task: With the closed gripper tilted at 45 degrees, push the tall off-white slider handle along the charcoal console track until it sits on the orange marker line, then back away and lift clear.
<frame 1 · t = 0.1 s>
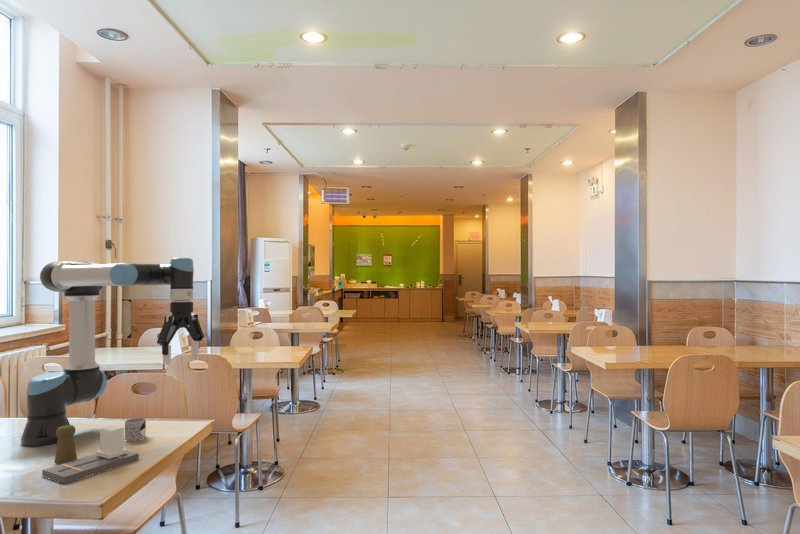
hand: (181, 361, 182), 28 cm above the table, tool pointing down, fingers open, 13 cm apart
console: (92, 467, 156), on the table
mug: (135, 437, 187), on the table
slider handle: (111, 441, 161), point 6 cm above the table, slide at -6.0 cm
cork: (65, 461, 163), on the table
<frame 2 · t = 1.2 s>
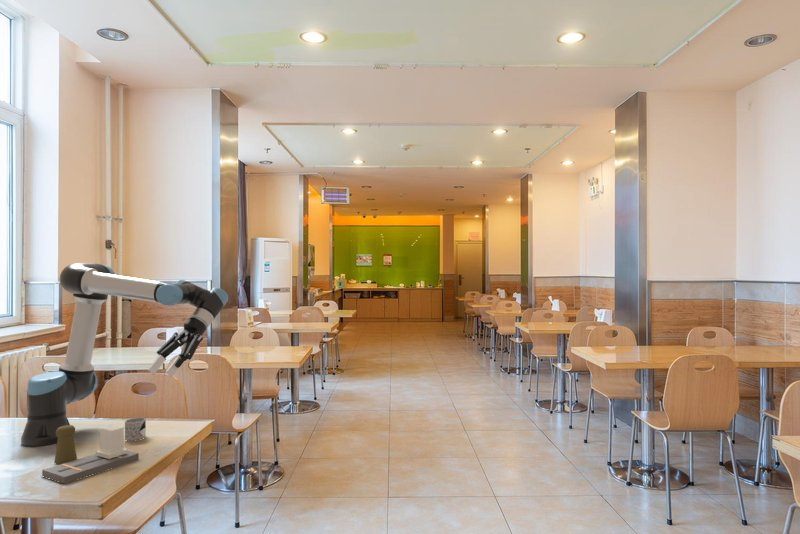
hand: (159, 373, 176), 25 cm above the table, tool tilted 45°, fingers open, 9 cm apart
nothing on the table moved.
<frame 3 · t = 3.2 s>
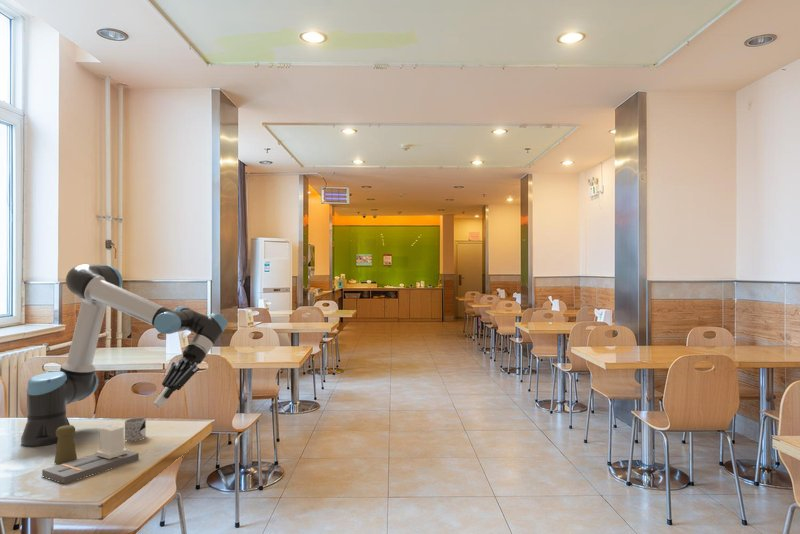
hand: (157, 405, 175), 14 cm above the table, tool tilted 45°, fingers closed
nothing on the table moved.
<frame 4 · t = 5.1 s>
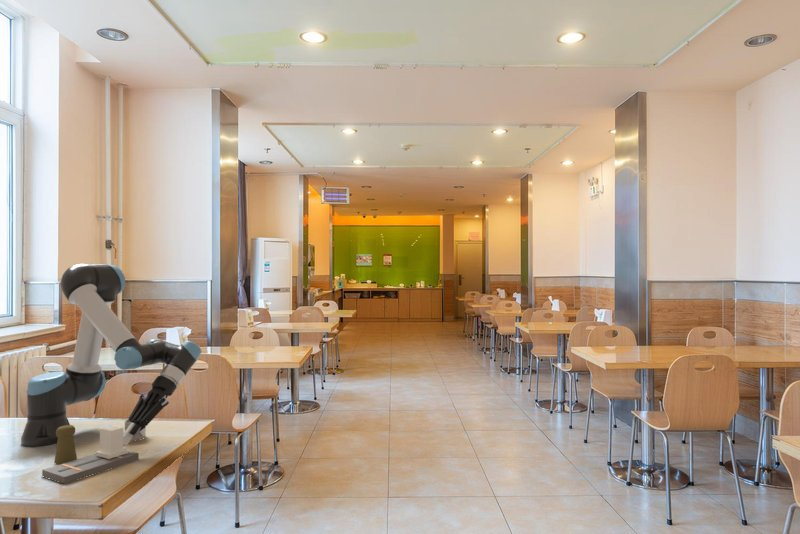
hand: (122, 443, 164), 5 cm above the table, tool tilted 45°, fingers closed
slider handle: (111, 441, 161), point 6 cm above the table, slide at -5.9 cm, touching gripper
everything else where it was.
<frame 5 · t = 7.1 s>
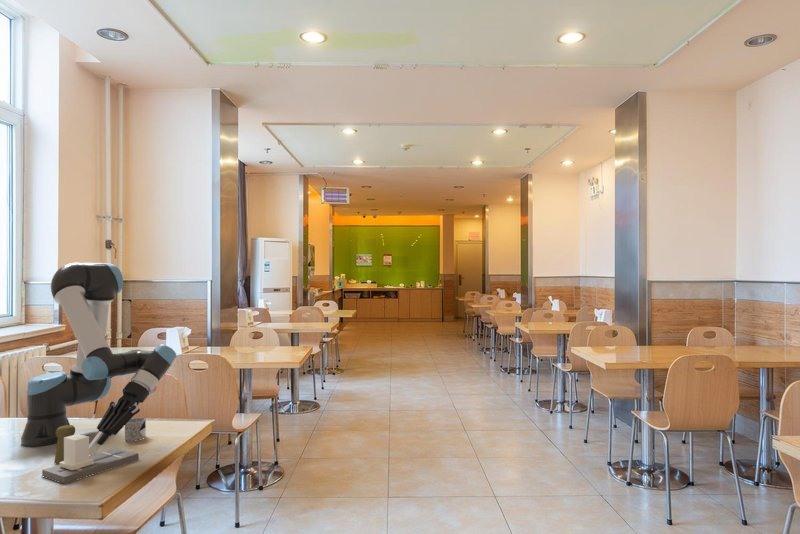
hand: (89, 453, 155), 5 cm above the table, tool tilted 45°, fingers closed
slider handle: (76, 451, 152), point 6 cm above the table, slide at 4.6 cm, touching gripper
everything else where it was.
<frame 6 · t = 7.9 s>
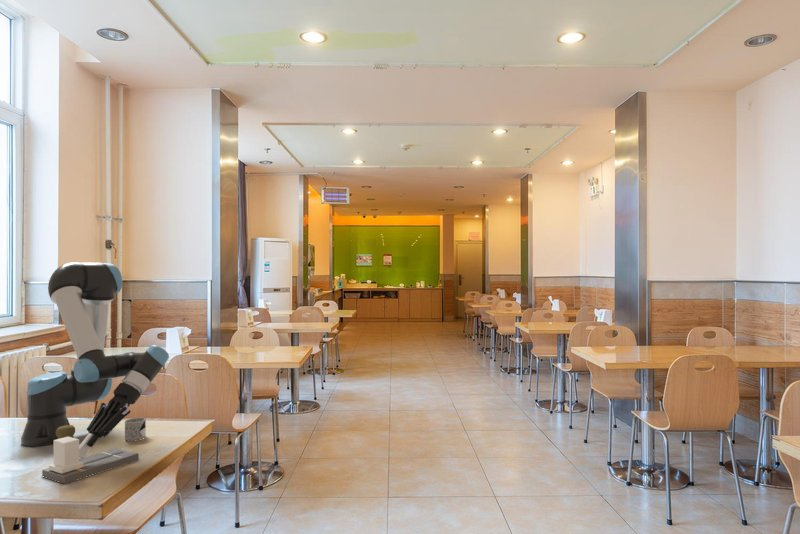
hand: (78, 455, 152), 5 cm above the table, tool tilted 45°, fingers closed
slider handle: (66, 453, 150), point 6 cm above the table, slide at 7.4 cm, touching gripper
everything else where it was.
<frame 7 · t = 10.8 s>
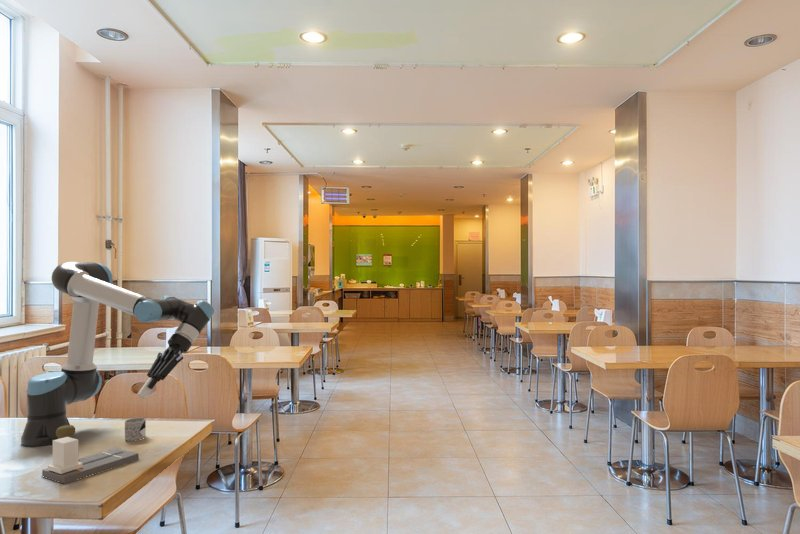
hand: (141, 396, 171), 18 cm above the table, tool tilted 40°, fingers closed
slider handle: (65, 454, 149), point 6 cm above the table, slide at 7.7 cm
everything else where it was.
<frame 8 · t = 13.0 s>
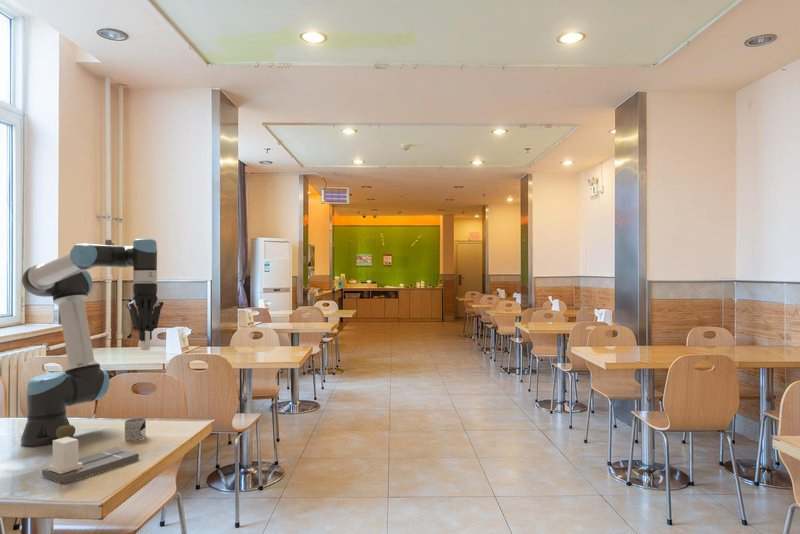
hand: (145, 349, 181), 32 cm above the table, tool pointing down, fingers closed
nothing on the table moved.
at the end: slider handle slide at 7.7 cm; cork moved 0.2 cm from its start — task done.
